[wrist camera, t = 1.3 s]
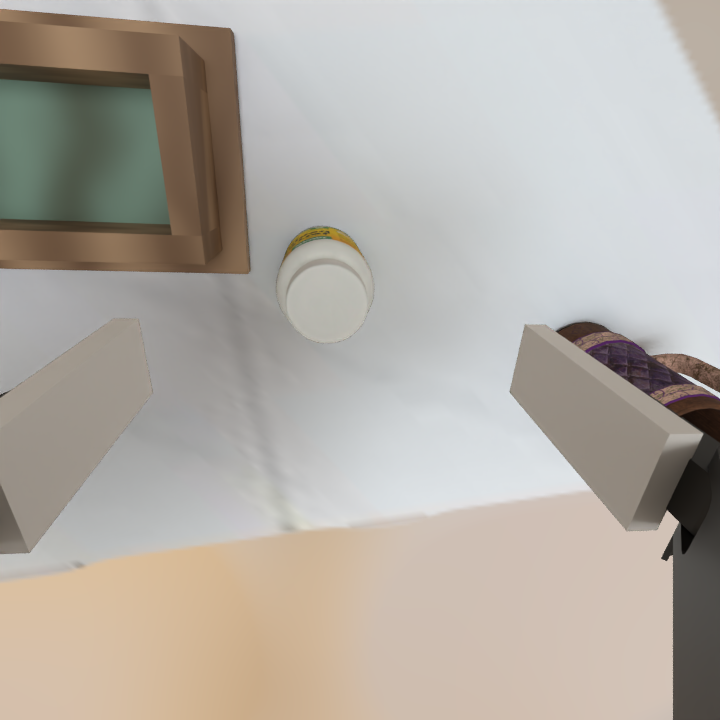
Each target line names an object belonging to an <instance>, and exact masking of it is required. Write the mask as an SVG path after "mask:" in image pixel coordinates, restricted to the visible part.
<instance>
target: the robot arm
mask: <svg viewBox="0 0 720 720" xmlns="http://www.w3.org/2000/svg"><path fill="white" fill-rule="evenodd" d="M152 393H153V390H152V385H151V380H150V375H149V370H148V365H147V360H146V355H145V350H144V344H143V339H142V334H141V329H140V324H139V319H112V320H111V321H109V322H108V323H107V324H105V325H104V326H102V327H101V328H99V329H98V330H97V331H95V332H94V333H92V334H91V335H89V336H88V337H87V338H85V339H84V340H82V341H81V342H79V343H78V344H77V345H75V346H74V347H72V348H71V349H69V350H68V351H67V352H65V353H64V354H62V355H61V356H59V357H58V358H57V359H55V360H54V361H52V362H51V363H49V364H48V365H47V366H45V367H44V368H42V369H41V370H39V371H38V372H37V373H35V374H34V375H32V376H31V377H29V378H28V379H27V380H25V381H24V382H22V383H21V384H19V385H18V386H17V387H15V388H14V389H12V390H10V391H8V392H6V393H3V394H1V395H0V554H12V553H30V552H31V550H32V549H33V548H34V547H35V545H36V544H37V543H38V541H39V540H40V539H41V537H42V536H43V535H44V534H45V532H46V531H47V530H48V528H49V527H50V526H51V524H52V523H53V522H54V521H55V519H56V518H57V517H58V515H59V514H60V513H61V512H62V510H63V509H64V508H65V506H66V505H67V504H68V502H69V501H70V500H71V499H72V497H73V496H74V495H75V493H76V492H77V491H78V489H79V488H80V487H81V486H82V484H83V483H84V482H85V480H86V479H87V478H88V476H89V475H90V474H91V473H92V471H93V470H94V469H95V467H96V466H97V465H98V464H99V462H100V461H101V460H102V458H103V457H104V456H105V454H106V453H107V452H108V451H109V449H110V448H111V447H112V445H113V444H114V443H115V441H116V440H117V439H118V438H119V436H120V435H121V434H122V432H123V431H124V430H125V428H126V427H127V426H128V425H129V423H130V422H131V421H132V419H133V418H134V417H135V416H136V414H137V413H138V412H139V410H140V409H141V408H142V406H143V405H144V404H145V403H146V401H147V400H148V399H149V397H150V396H151V395H152ZM510 393H511V395H512V396H513V397H514V398H515V399H516V401H517V402H518V403H519V404H520V405H521V406H522V408H523V409H524V410H525V411H526V412H527V414H528V415H529V416H530V417H531V418H532V419H533V421H534V422H535V423H536V424H537V425H538V427H539V428H540V429H541V430H542V431H543V433H544V434H545V435H546V436H547V437H548V438H549V440H550V441H551V442H552V443H553V444H554V446H555V447H556V448H557V449H558V450H559V451H560V453H561V454H562V455H563V456H564V457H565V459H566V460H567V461H568V462H569V463H570V465H571V466H572V467H573V468H574V469H575V470H576V472H577V473H578V474H579V475H580V476H581V478H582V479H583V480H584V481H585V482H586V483H587V485H588V486H589V487H590V488H591V489H592V491H593V492H594V493H595V494H596V495H597V496H598V498H599V499H600V500H601V501H602V502H603V504H604V505H605V506H606V507H607V508H608V510H609V511H610V512H611V513H612V514H613V515H614V517H615V518H616V519H617V520H618V521H619V523H620V524H621V525H622V526H623V527H624V528H625V530H626V531H649V530H657V529H658V527H659V525H660V523H661V521H662V519H663V517H664V515H665V513H666V511H667V510H668V511H669V512H670V513H671V514H672V515H673V516H674V517H675V518H676V519H677V520H678V521H679V524H678V526H677V528H676V530H675V532H674V534H673V536H672V538H671V540H670V542H669V544H668V546H667V547H666V549H665V551H664V554H663V556H662V558H661V559H663V560H665V561H667V560H668V558H669V556H671V555H673V720H720V443H719V442H718V441H716V440H715V439H713V438H712V437H711V436H709V435H708V434H706V433H705V432H703V431H702V430H700V429H699V428H697V427H696V426H694V425H693V424H692V423H690V422H689V421H687V420H686V419H684V418H683V417H679V415H678V414H677V413H675V412H674V411H673V410H671V409H670V408H666V406H665V405H664V404H662V403H661V402H659V401H658V400H656V399H655V398H654V397H652V396H650V395H648V394H646V393H644V392H642V391H641V390H639V389H638V388H637V387H635V386H634V385H632V384H631V383H629V382H628V381H626V380H625V379H623V378H622V377H621V376H619V375H618V374H616V373H615V372H613V371H612V370H610V369H609V368H608V367H606V366H605V365H603V364H602V363H600V362H599V361H597V360H596V359H594V358H593V357H592V356H590V355H589V354H587V353H586V352H584V351H583V350H581V349H580V348H578V347H577V346H576V345H574V344H573V343H571V342H570V341H568V340H567V339H565V338H564V337H563V336H561V335H560V334H558V333H557V332H555V331H554V330H552V329H551V328H549V327H548V326H547V325H526V324H525V327H524V331H523V335H522V340H521V344H520V348H519V353H518V357H517V362H516V366H515V370H514V375H513V379H512V383H511V388H510Z"/></svg>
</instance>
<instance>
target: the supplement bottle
mask: <svg viewBox="0 0 720 720" xmlns="http://www.w3.org/2000/svg"><path fill="white" fill-rule="evenodd" d="M276 293H277V299H278V303H279V305H280V308H281V310H282V312H283V313H284V315H285V316H286V318H287V319H288V320H289V321H290V322H291V324H292V325H293V327H294V328H295V329H296V330H297V331H298V332H299V333H300V334H301V335H302V336H304V337H305V338H307V339H309V340H312V341H315V342H318V343H336V342H340V341H342V340H345V339H347V338H349V337H350V336H352V335H353V334H354V333H355V332H356V331H357V330H358V329H359V328H360V327H361V325H362V324H363V322H364V320H365V318H366V315H367V313H368V311H369V309H370V307H371V304H372V301H373V296H374V281H373V276H372V273H371V270H370V268H369V266H368V264H367V262H366V260H365V259H364V257H363V255H362V254H361V252H360V250H359V249H358V247H357V245H356V244H355V242H354V241H353V240H352V239H351V238H350V237H349V236H348V235H347V234H346V233H344V232H342V231H341V230H338V229H336V228H332V227H327V226H316V227H311V228H308V229H306V230H304V231H303V232H301V233H300V234H299V235H297V236H296V237H295V238H294V239H293V240H292V242H291V243H290V245H289V247H288V249H287V251H286V253H285V256H284V259H283V261H282V264H281V266H280V269H279V273H278V276H277V282H276Z"/></svg>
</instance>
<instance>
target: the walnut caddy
mask: <svg viewBox="0 0 720 720" xmlns="http://www.w3.org/2000/svg"><path fill="white" fill-rule="evenodd" d="M0 268H4V269H49V270H95V271H140V272H186V273H231V274H248V273H249V272H250V258H249V244H248V229H247V215H246V201H245V186H244V172H243V158H242V143H241V129H240V114H239V100H238V86H237V71H236V57H235V42H234V33H233V32H232V30H231V29H230V28H220V27H209V26H197V25H185V24H173V23H161V22H149V21H137V20H125V19H113V18H102V17H90V16H78V15H66V14H54V13H42V12H30V11H18V10H7V9H0Z"/></svg>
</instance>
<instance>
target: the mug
mask: <svg viewBox="0 0 720 720" xmlns="http://www.w3.org/2000/svg"><path fill="white" fill-rule="evenodd" d="M558 334H560V335H561V336H563V337H564V338H565V339H567V340H568V341H570V342H571V343H573V344H574V345H576V346H577V347H578V348H580V349H581V350H583V351H584V352H586V353H587V354H589V355H590V356H592V357H593V358H594V359H596V360H597V361H599V362H600V363H602V364H603V365H605V366H606V367H608V368H609V369H610V370H612V371H613V372H615V373H616V374H618V375H619V376H621V377H622V378H623V379H625V380H626V381H628V382H629V383H631V384H632V385H634V386H635V387H637V388H638V389H639V390H641V391H642V392H644V393H646V394H648V395H650V396H652V397H654V398H655V399H656V400H658V401H659V402H661V403H662V404H664V405H665V406H666V408H670V409H671V410H673V411H674V412H675V413H677V414H678V415H679V417H683V418H684V419H686V420H687V421H689V422H690V423H692V424H693V425H694V426H696V427H697V428H699V429H700V430H702V431H703V432H705V433H706V434H708V435H709V436H711V437H712V438H713V439H715V440H716V441H718V442H719V443H720V399H719V398H718V397H716V396H715V395H713V394H712V393H710V392H709V391H707V390H706V389H704V388H703V387H700V386H697V385H695V384H694V383H692V382H690V381H689V380H687V379H686V378H684V377H683V376H681V375H679V374H678V373H682V374H685V375H687V376H690V377H692V378H694V379H695V380H697V381H699V382H701V383H703V384H705V385H707V386H708V387H710V388H712V389H714V390H716V391H718V392H720V369H718V368H716V367H713V366H711V365H709V364H707V363H705V362H703V361H701V360H699V359H697V358H694V357H691V356H687V355H684V354H661V355H653V356H649V355H648V354H646V353H645V351H644V350H643V349H642V348H641V347H639V346H638V345H637V344H635V343H634V342H632V341H631V340H629V339H627V338H626V337H624V336H622V335H621V334H617V333H613V332H611V331H610V330H608V329H607V328H605V327H603V326H602V325H598V324H594V323H590V322H589V323H578V324H574V325H571V326H569V327H566V328H564V329H562V330H560V331H559V332H558Z"/></svg>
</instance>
